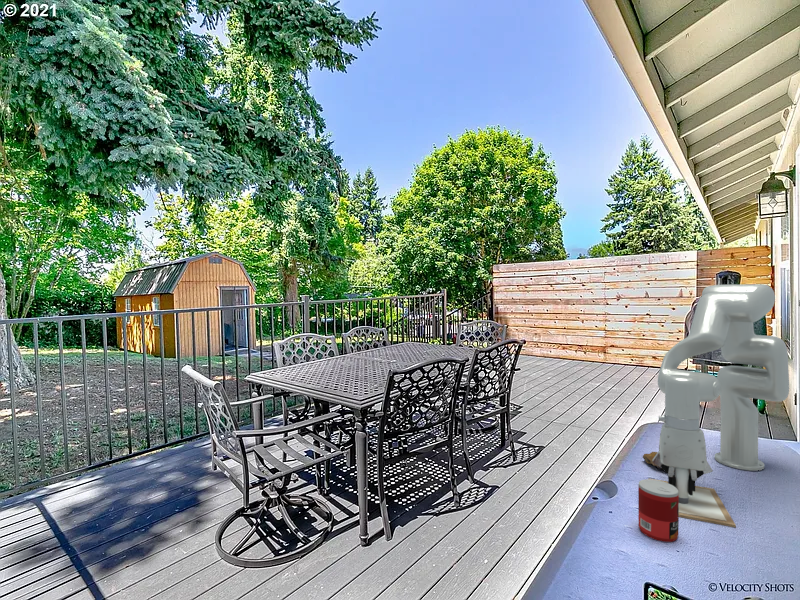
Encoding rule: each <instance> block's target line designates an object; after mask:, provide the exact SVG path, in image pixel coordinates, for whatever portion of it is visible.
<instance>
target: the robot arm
mask: <svg viewBox="0 0 800 600" xmlns="http://www.w3.org/2000/svg"><path fill="white" fill-rule="evenodd" d="M775 300H776V294H775V291H774V289H773V288H772V287H771V286H769V285H767V284H761V283H759V284H757V283H754V284H753V283H752V284H751V283H750V284H748V283H747V284H738V283H737V284H733V283H732V284H714V285H713V284H712V285H708V286H706V287H705V288H703V290H702V292H701V297H700V298H699V300H698V301H697V304H696V308H695V310H694V311H695V313H694V315H693V318H692V322H691V326H690V329H689V333H688V335H687V336H686V338H683V339H682V340H680V341H678V343H676V344H675V345H673V346H672V347H671V348H670V349H668V351H667V352H666V353H665V355H664V356H663V359H662V361H661V364H660V368H659V371H658V376H657V386H658V389H659V390H660V391H661V392H662V393H663V394H664V414H663V415H658V421H659V422H663V424H662V425H661V429H660V434H659V440H658V441H659V442H658V451H656V452H657V454H656V455H655V457H654V458H653V460H652V461H653V463H654V464H656V465H657V466H659V467H661V468H662V469H663V471H664V472H665V473H666V474H667V481H668V484H671V485H673V486H674V487H676V478H675V476H674V468H675V467H678V468H684V469H689V473H690V474H689V491H688V493H689V495H692V496H693V491H695V486H696V481H697V480H698V479H699V478H701V477H702V476H704V475H707V474H710V473H713V469H712V467H711V465H710V463H709V461H708V460H707V458H708V457H707V448H706V447H707V446H706V445H707V444H706V438H705V434H704V433H705V432H704V430H702V429H701V428H700V404H701V403H702V402H703V403H708V402H713V401H715V400H717V399H718V398H719V397H720V398H719V399H720V433H719V434H720V436H719V437H720V438H719V439H720V447H719V448H720V452H716V453H715V454H714V460H716V462H718V463H720V464H722V465H724V466H727V467H730V468H732V469H733V468H734V469H738V470H742V471H751V472H752V471H754V472H757V471H758V470H759V471H762V469H763V470H764V469H765V463H764V462H763V461H762V460H760V459H759V411H758V408H757V406H756V405H755V404H754V402H753V401H752V400H751V399H756V400H764V401H770V402H784V401H785V400H786V399H788V396H789V394H790V393H789V392H790V374H789V373H790V370H789V354H788V347H787V345H786V343H785V341H784V340H783V339H782V338H780V337H777V336H773V335H763V334H762V335H759V334H756V333H755V330H754V326H755V325H754V323H756V322H757V321H758V322H759V320H761V319H763V318H764V317H765V316H766V315H767V314H769V313H770V312H771V310H772V309H773V307H774V305H775V302H776V301H775ZM719 349H720V350H721V351H720V352H721V356H722V358H723V359H724V360H725V361H727V362H730V363H734V364H741V365H742V366H741V365H726V366H723V367H722V368H720V369H719V370H718V371H717V375H716V376H715V375H713V374H710V373H706V372H705V373H704V372H699V371H698V372H697V371H692V370H685V369H678V368H679V366H680V365H681V363H683V362H684V361H685V360H687V359H690V358H692V357H695V356H698V355H702V354H706V353H707V354H708V353H710V352H714V351H717V350H719ZM743 365H749V366H743ZM750 366H756V367H750ZM757 367H762V368H757ZM763 367H764V368H763ZM700 402H701V403H700ZM657 466H656V467H657ZM661 468H660V469H661ZM662 469H661V470H662Z"/></svg>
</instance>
